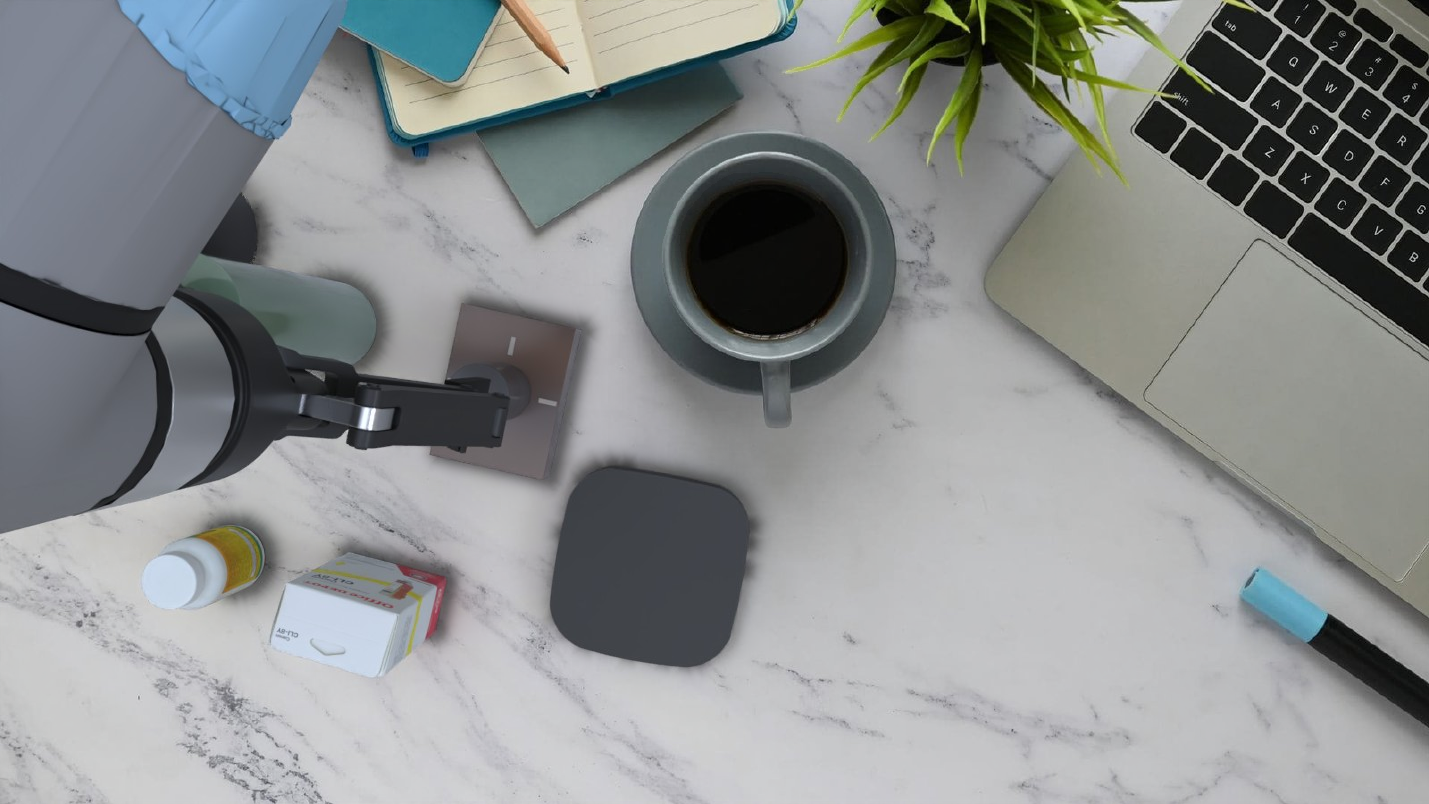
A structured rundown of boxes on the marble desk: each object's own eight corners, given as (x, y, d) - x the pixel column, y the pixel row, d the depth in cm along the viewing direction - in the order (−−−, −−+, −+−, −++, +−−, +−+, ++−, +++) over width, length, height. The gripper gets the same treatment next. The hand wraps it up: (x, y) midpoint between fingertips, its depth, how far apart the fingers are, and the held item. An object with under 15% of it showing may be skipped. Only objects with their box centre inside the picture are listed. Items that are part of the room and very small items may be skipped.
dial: (468, 413, 76) (438, 419, 68) (480, 357, 76) (452, 357, 68) (523, 426, 76) (500, 433, 68) (536, 370, 76) (514, 371, 68)
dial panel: (471, 304, 79) (460, 302, 75) (581, 329, 79) (575, 328, 75) (440, 451, 79) (428, 455, 76) (549, 475, 79) (542, 480, 76)
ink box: (450, 576, 79) (402, 614, 68) (434, 635, 80) (383, 682, 68) (348, 548, 79) (281, 580, 68) (332, 606, 80) (264, 649, 68)
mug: (140, 142, 78) (64, 114, 69) (278, 204, 78) (220, 184, 69) (95, 251, 79) (13, 237, 70) (232, 313, 79) (168, 306, 70)
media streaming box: (757, 489, 79) (759, 494, 76) (724, 667, 80) (724, 678, 76) (578, 456, 79) (572, 460, 76) (546, 634, 80) (539, 644, 77)
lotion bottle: (299, 272, 79) (123, 235, 56) (384, 291, 79) (243, 262, 56) (281, 358, 79) (99, 356, 56) (366, 377, 79) (219, 384, 56)
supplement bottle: (233, 602, 80) (166, 635, 70) (187, 554, 80) (114, 581, 70) (281, 557, 80) (220, 584, 70) (235, 509, 79) (168, 529, 70)
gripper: (504, 359, 34) (590, 357, 56) (-190, 212, 35) (160, 266, 56) (463, 567, 35) (564, 486, 56) (-223, 421, 35) (137, 395, 56)
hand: (363, 376), depth 56 cm, fingers open, 13 cm apart
